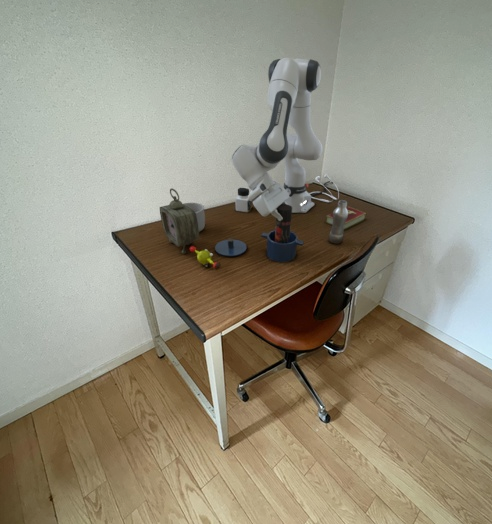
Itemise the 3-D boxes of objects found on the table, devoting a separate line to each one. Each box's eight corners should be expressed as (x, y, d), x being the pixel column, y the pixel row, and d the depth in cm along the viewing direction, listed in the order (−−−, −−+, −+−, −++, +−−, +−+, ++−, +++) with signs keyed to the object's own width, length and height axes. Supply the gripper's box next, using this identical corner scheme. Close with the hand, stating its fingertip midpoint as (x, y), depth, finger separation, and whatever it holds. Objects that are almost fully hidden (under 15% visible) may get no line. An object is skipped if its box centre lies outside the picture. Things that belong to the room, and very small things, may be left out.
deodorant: (291, 243, 110) (294, 209, 101) (277, 245, 108) (280, 210, 99) (286, 236, 114) (288, 203, 106) (272, 238, 112) (274, 204, 104)
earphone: (331, 199, 161) (316, 174, 162) (315, 213, 174) (301, 190, 175) (344, 195, 169) (329, 171, 170) (327, 208, 182) (314, 186, 183)
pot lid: (224, 239, 121) (223, 230, 119) (251, 245, 118) (251, 236, 116) (209, 253, 111) (208, 244, 108) (238, 260, 108) (238, 250, 105)
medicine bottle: (247, 212, 146) (247, 191, 140) (235, 210, 147) (234, 189, 141) (251, 207, 152) (251, 187, 146) (239, 206, 153) (239, 185, 146)
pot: (266, 242, 121) (267, 226, 116) (304, 251, 117) (306, 234, 113) (256, 256, 111) (256, 238, 106) (297, 266, 107) (299, 248, 103)
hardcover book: (325, 222, 143) (326, 214, 141) (346, 212, 156) (348, 205, 154) (343, 230, 137) (345, 223, 135) (364, 219, 150) (366, 212, 147)
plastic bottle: (325, 239, 128) (332, 199, 116) (337, 237, 130) (345, 198, 119) (331, 246, 123) (339, 205, 112) (344, 244, 125) (353, 204, 114)
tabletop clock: (166, 242, 115) (154, 185, 101) (185, 236, 121) (177, 181, 107) (182, 257, 107) (171, 197, 93) (202, 249, 112) (195, 192, 98)
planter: (193, 221, 134) (190, 200, 127) (211, 228, 129) (209, 207, 123) (173, 230, 125) (169, 208, 118) (192, 238, 120) (188, 215, 114)
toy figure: (226, 273, 100) (225, 258, 97) (213, 279, 97) (212, 264, 93) (198, 253, 110) (196, 239, 106) (186, 258, 106) (184, 244, 102)
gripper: (269, 184, 111) (289, 211, 114) (245, 199, 95) (269, 230, 98) (279, 175, 108) (300, 203, 110) (256, 189, 92) (280, 222, 94)
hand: (285, 216), depth 104 cm, fingers closed on deodorant, 6 cm apart
